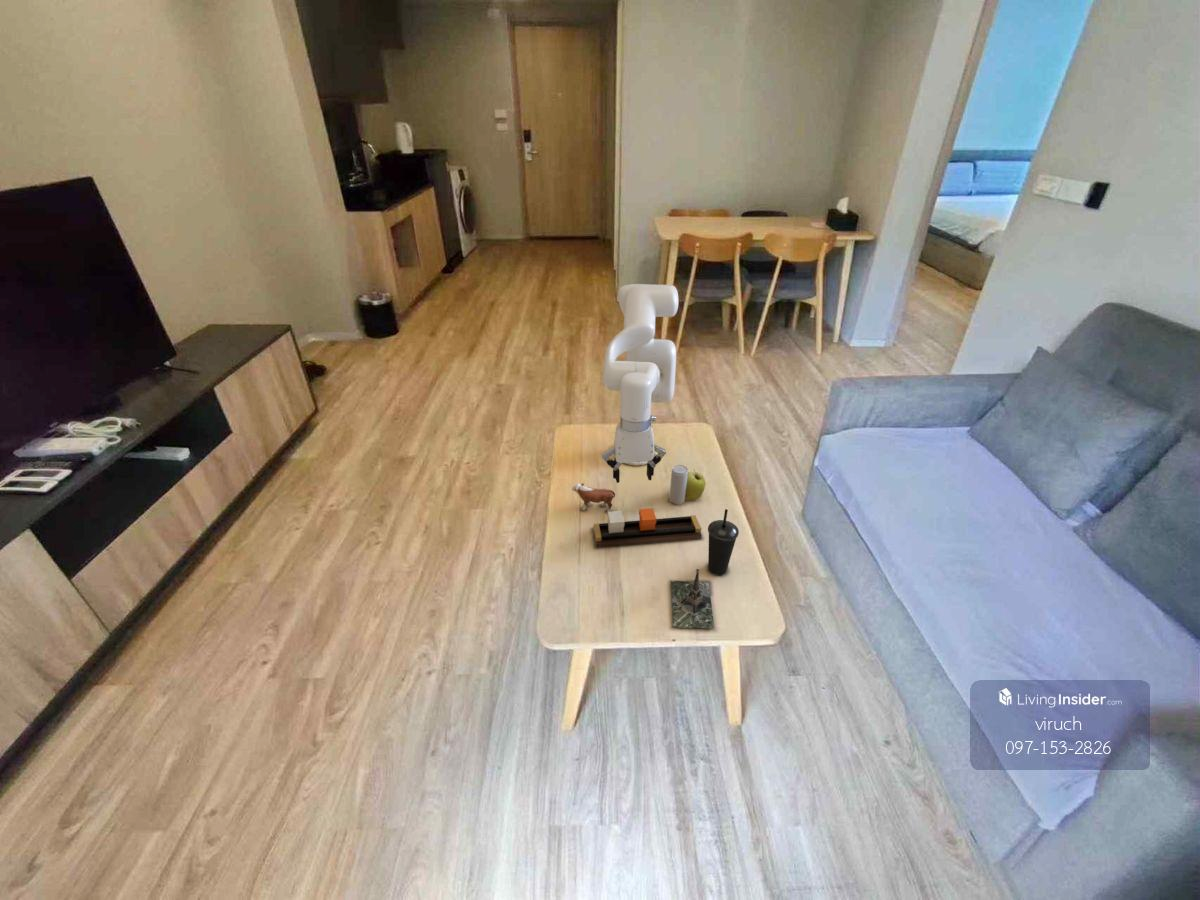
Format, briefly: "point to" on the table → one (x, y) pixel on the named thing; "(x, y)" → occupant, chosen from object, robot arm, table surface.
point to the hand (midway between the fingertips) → (633, 478)
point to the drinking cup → (721, 544)
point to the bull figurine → (594, 495)
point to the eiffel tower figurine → (691, 604)
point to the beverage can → (678, 484)
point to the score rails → (647, 533)
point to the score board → (651, 538)
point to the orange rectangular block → (647, 519)
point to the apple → (694, 485)
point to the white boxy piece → (615, 522)
